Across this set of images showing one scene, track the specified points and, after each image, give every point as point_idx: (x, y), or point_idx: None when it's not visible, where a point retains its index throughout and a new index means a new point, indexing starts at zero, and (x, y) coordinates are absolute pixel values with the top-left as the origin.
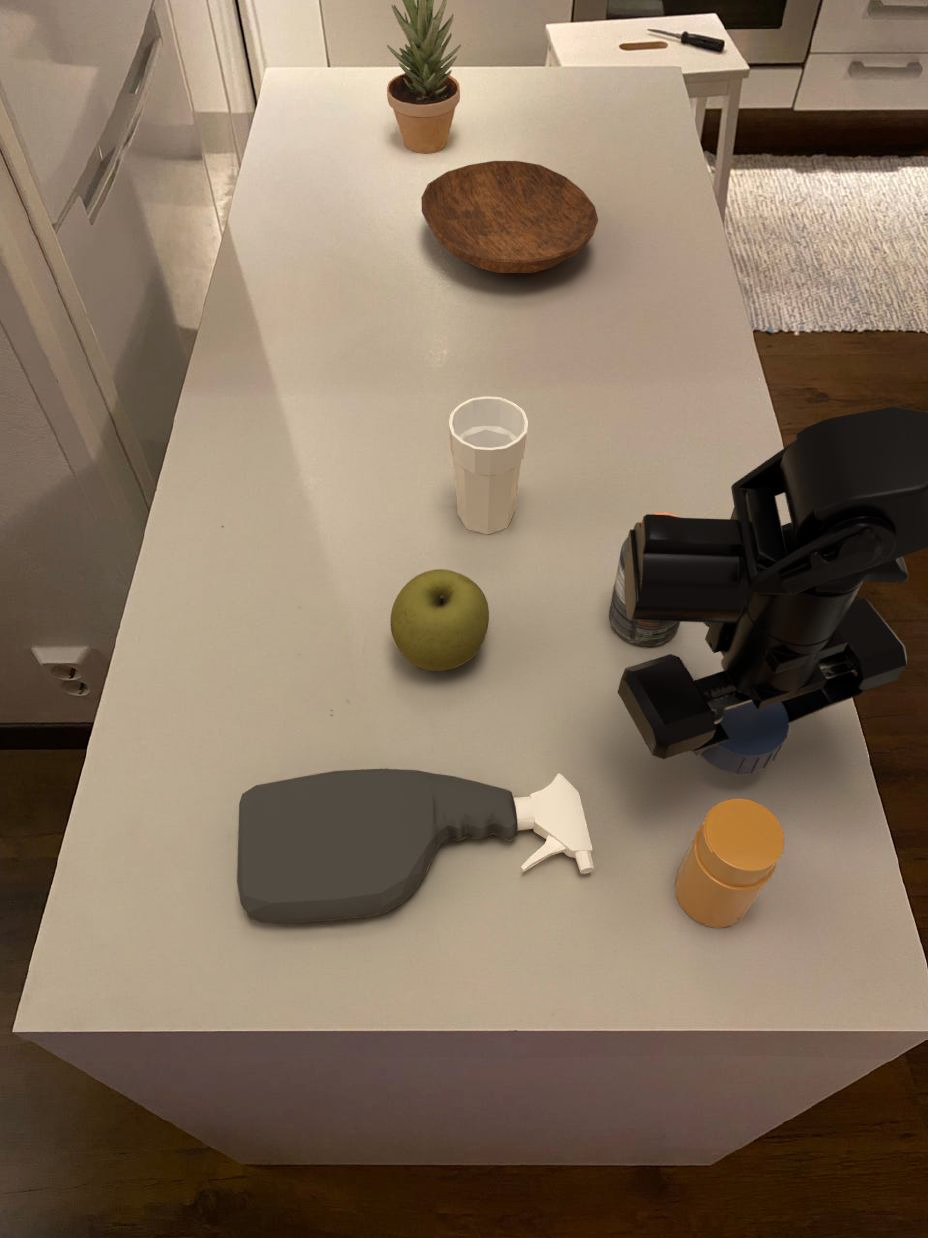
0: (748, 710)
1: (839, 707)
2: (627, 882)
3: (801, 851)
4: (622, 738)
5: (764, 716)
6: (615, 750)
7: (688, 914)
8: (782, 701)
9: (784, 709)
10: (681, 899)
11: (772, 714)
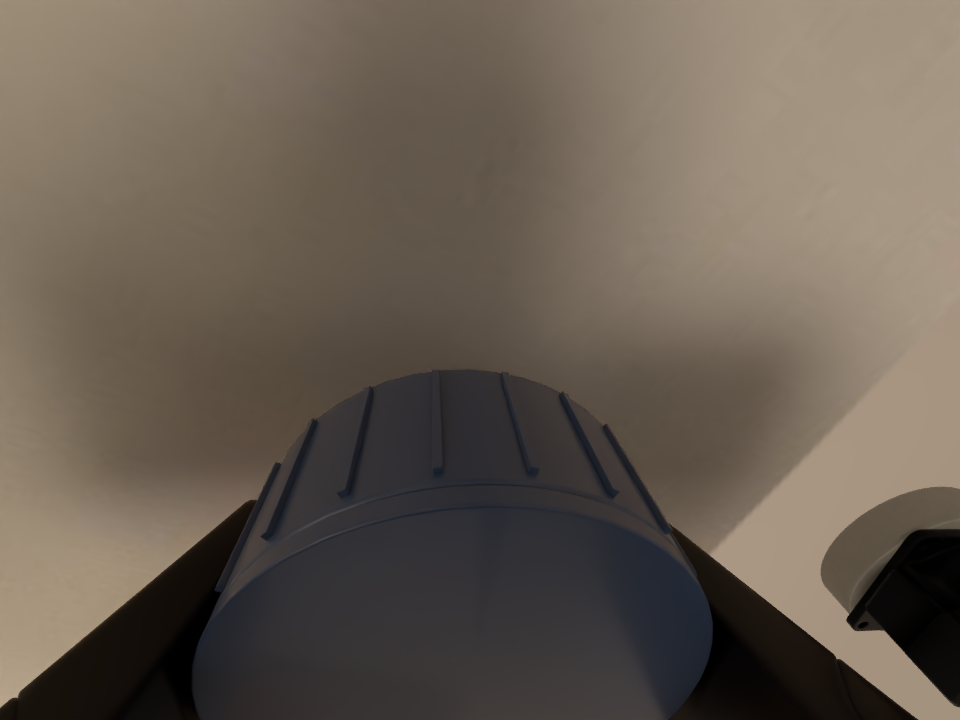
0: (514, 680)
1: (842, 405)
2: (26, 594)
3: None
4: (117, 219)
5: (564, 712)
6: (72, 255)
7: None
8: (707, 674)
9: (676, 708)
10: None
11: (607, 711)
